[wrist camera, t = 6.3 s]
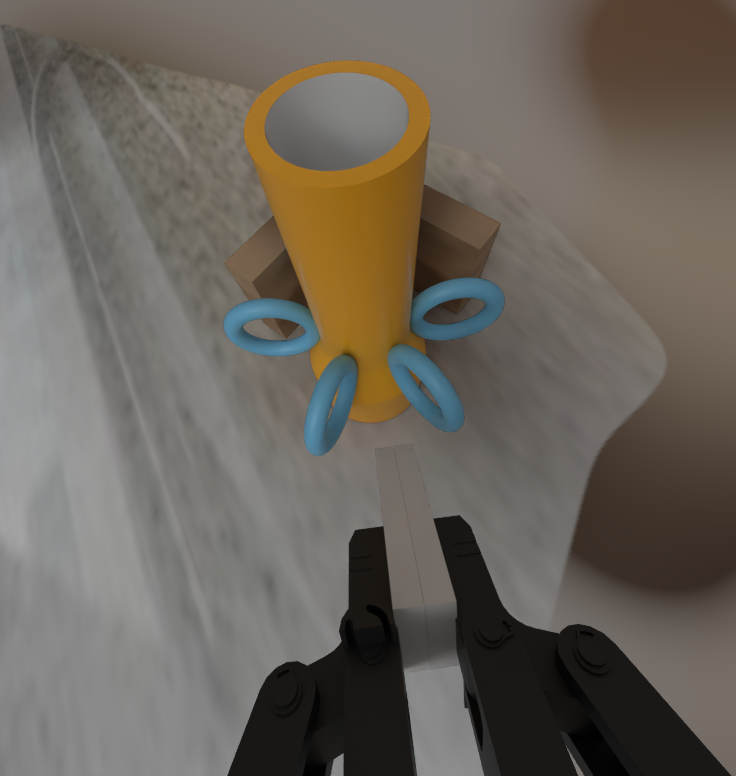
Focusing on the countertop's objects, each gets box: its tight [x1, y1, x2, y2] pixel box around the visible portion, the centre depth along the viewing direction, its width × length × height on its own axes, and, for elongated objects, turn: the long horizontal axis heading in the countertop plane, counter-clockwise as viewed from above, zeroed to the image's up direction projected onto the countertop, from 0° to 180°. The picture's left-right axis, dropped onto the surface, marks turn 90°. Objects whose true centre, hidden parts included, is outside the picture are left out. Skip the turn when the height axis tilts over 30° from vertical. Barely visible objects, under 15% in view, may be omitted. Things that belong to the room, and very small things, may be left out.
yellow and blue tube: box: [224, 61, 505, 456], centre depth 14 cm, size 12×10×15 cm
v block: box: [224, 185, 501, 339], centre depth 21 cm, size 9×14×6 cm, turn 97°
